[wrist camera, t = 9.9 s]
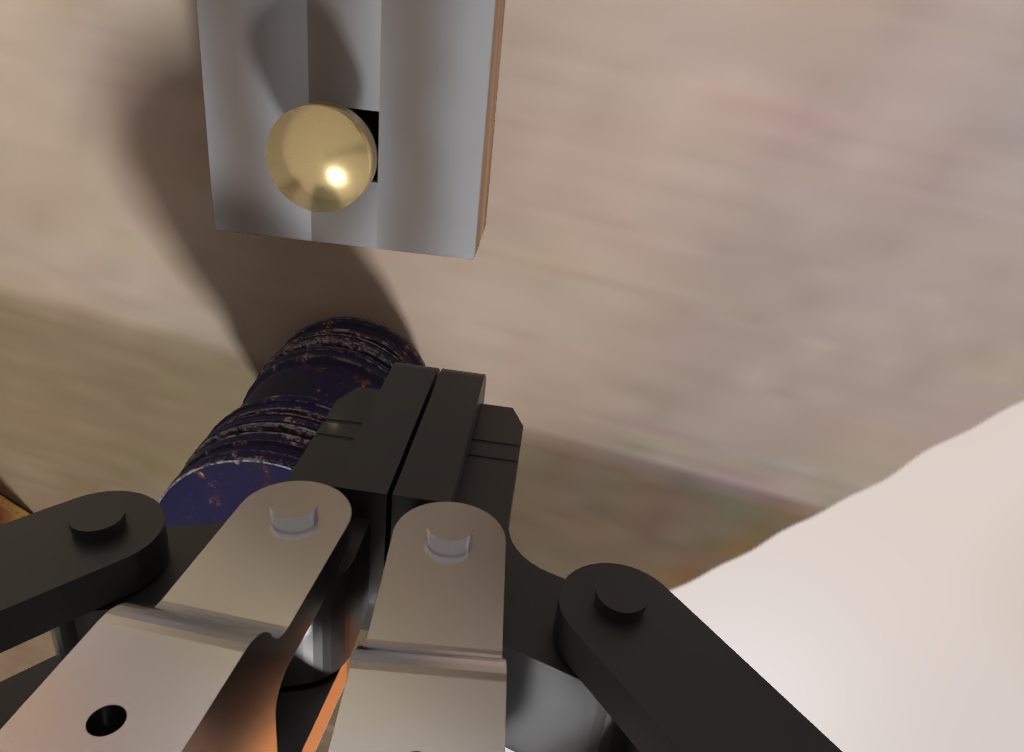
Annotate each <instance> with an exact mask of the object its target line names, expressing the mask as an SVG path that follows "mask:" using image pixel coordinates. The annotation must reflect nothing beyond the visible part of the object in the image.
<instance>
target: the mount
mask: <svg viewBox="0 0 1024 752" xmlns="http://www.w3.org/2000/svg"><path fill="white" fill-rule="evenodd" d="M196 3H197V16H198V28H199V41H200V53H201V66H202V78H203V91H204V103H205V116H206V128H207V141H208V153H209V166H210V179H211V191H212V204H213V216H214V229H215V230H222V231H230V232H239V233H248V234H256V235H265V236H273V237H282V238H290V239H299V240H308V241H316V242H325V243H333V244H342V245H350V246H359V247H368V248H376V249H385V250H393V251H402V252H410V253H419V254H428V255H436V256H445V257H453V258H462V259H470V260H474V258H475V255H476V252H477V249H478V246H479V243H480V240H481V237H482V234H483V231H484V229H485V225H486V214H487V203H488V191H489V180H490V168H491V157H492V145H493V134H494V122H495V111H496V100H497V88H498V77H499V65H500V54H501V42H502V31H503V20H504V8H505V0H196ZM318 101H328V102H333V103H337V104H340V105H342V106H344V107H346V108H348V109H349V108H353V109H362V110H371V111H379V146H378V155H377V168H376V172H375V175H374V178H373V180H372V182H371V184H370V185H369V186H368V188H367V189H366V190H365V191H364V192H363V193H362V194H361V195H360V196H359V197H358V198H357V199H356V200H355V201H353V202H352V203H351V204H350V205H348V206H346V207H345V208H343V209H340V210H337V211H333V212H314V211H310V210H307V209H304V208H302V207H299V206H298V205H296V204H294V203H293V202H291V201H290V200H289V199H287V198H286V197H285V196H284V195H283V194H282V193H281V191H280V190H279V189H278V188H277V186H276V185H275V183H274V182H273V180H272V178H271V176H270V173H269V170H268V167H267V163H266V142H267V138H268V135H269V132H270V130H271V128H272V127H273V125H274V124H275V122H276V121H277V120H278V119H279V118H280V117H281V116H282V115H283V114H285V113H286V112H288V111H290V110H292V109H295V108H297V107H300V106H302V105H305V104H308V103H312V102H318Z"/></svg>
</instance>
